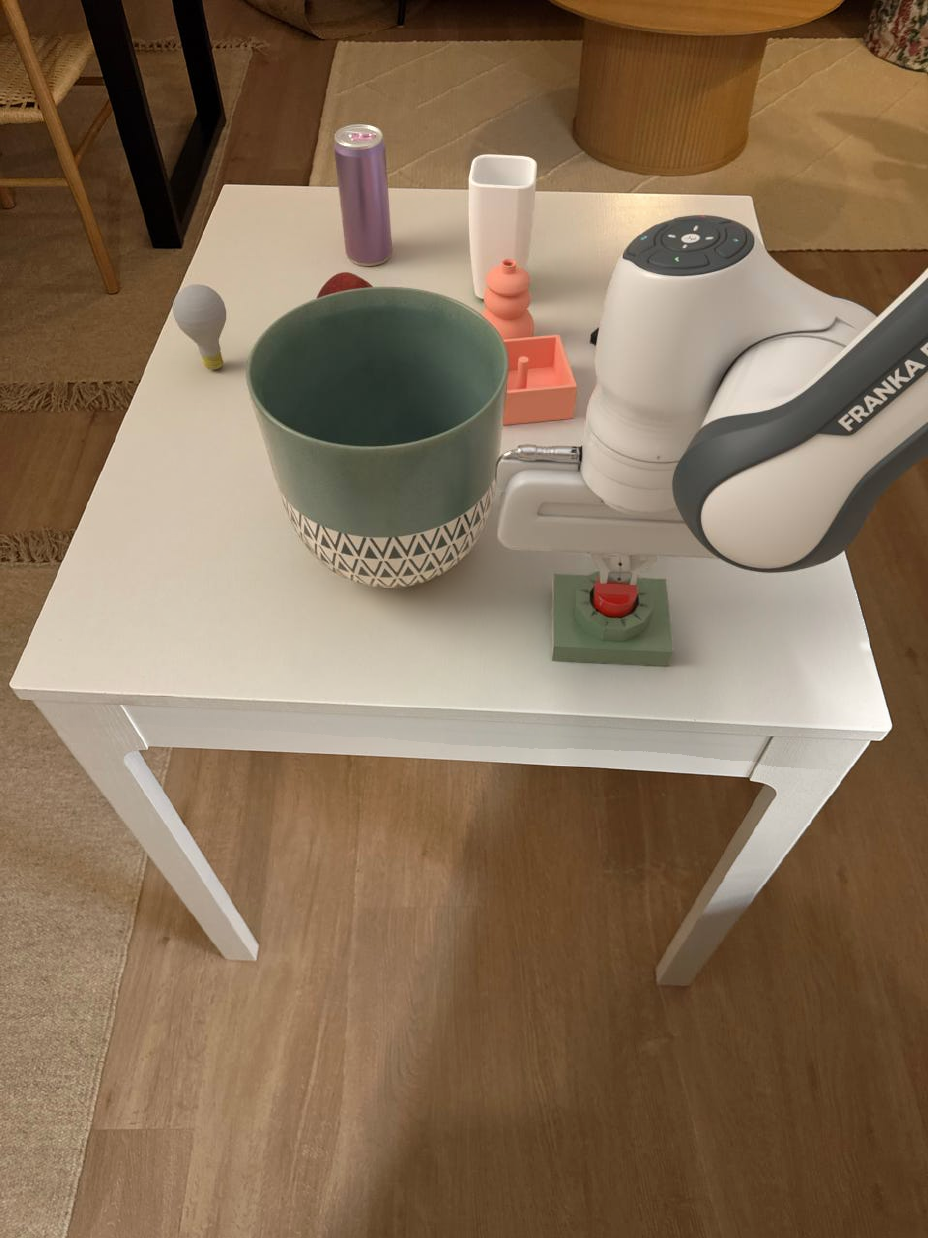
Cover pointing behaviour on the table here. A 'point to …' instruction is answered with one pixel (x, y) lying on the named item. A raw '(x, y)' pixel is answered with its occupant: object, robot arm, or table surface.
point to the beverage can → (363, 193)
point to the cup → (500, 213)
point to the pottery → (528, 352)
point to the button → (614, 598)
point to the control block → (610, 624)
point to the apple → (343, 284)
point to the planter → (383, 428)
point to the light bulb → (202, 320)
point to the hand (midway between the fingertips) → (617, 578)
